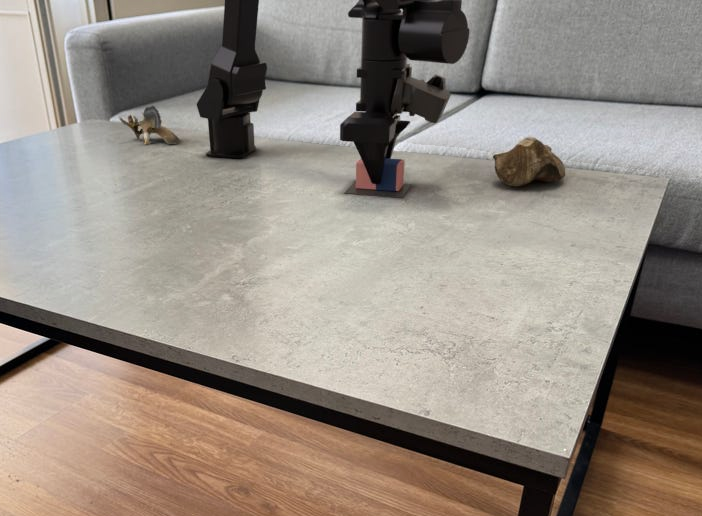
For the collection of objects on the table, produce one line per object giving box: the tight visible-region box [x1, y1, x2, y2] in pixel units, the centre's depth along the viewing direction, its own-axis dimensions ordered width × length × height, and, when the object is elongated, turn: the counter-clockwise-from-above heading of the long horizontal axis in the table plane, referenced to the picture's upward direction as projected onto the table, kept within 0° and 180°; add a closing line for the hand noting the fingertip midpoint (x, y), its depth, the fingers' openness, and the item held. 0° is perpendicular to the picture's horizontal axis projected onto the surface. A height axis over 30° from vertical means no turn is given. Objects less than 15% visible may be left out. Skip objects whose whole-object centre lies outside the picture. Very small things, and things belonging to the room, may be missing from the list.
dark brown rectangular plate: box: [343, 179, 412, 199], centre depth 96 cm, size 8×6×1 cm
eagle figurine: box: [118, 105, 180, 146], centre depth 123 cm, size 8×7×9 cm
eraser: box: [355, 158, 406, 191], centre depth 96 cm, size 6×3×4 cm, turn 69°
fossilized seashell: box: [492, 136, 566, 187], centre depth 95 cm, size 8×7×10 cm
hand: (378, 180), depth 96 cm, fingers closed on eraser, 3 cm apart
